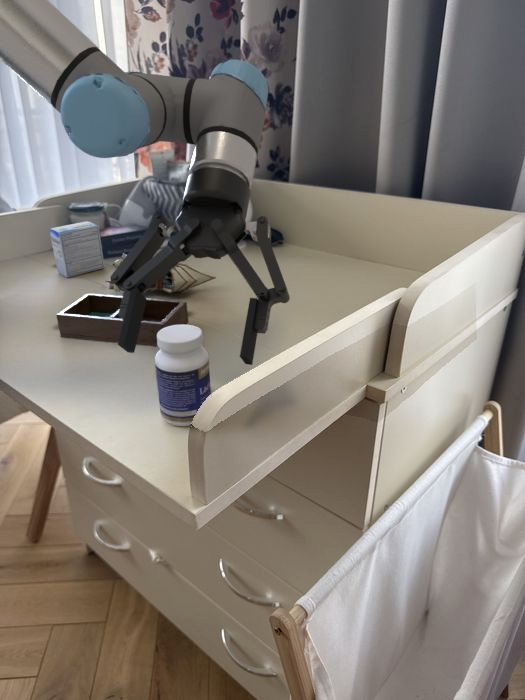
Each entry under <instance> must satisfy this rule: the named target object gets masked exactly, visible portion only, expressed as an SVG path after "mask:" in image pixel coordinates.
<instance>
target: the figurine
mask: <svg viewBox="0 0 525 700" xmlns="http://www.w3.org/2000/svg"><path fill="white" fill-rule="evenodd" d="M127 255H128V254H125V252H122V255H121V258H120V259H116V260H115V261H114V262H112V263H111V266H113V267H114V268H115V269H117V267H118V266H119V265H120V264H121V262H122V261H123V260H124V258H125V257H126V256H127ZM153 257H154V256H153ZM153 257H152V258H153ZM189 259H190V257H189V258H188V259H186V262H188V261H189ZM215 279H217V278H216V276H211V275H209V274H206V273H203V272H201V271H198V270H197V269H194V268H193V267H191V266H189V265H188V263H186V264H184V263H182V262H179V263H178V264H177V265H176V266H175V267H173V268H172V269H171V270H170V271H169V272H168V273H166V274H165V275H164V276H163V277H162V278H161V279H159V280H158V281H157V282H156V283H155V284H154V285H152V286H151V287H150V288H149V289H148V290H150V291H151V292H154V291H160V290H161V291H163V292H166V293H168V294H173V293H182V292H185V291H186V290H189V289H192V288H195V287H197V286H200V285H203V284H205V283H208V282H210V281H212V280H215ZM104 282H105V283H109V284H108V290H113V291H114V292H115V293H119V292H122V291H121V290H120V289H119V288H118V287H117V286H116V285H115V284H114V283H113V282H112V281H111V280H105V281H104Z"/></svg>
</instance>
